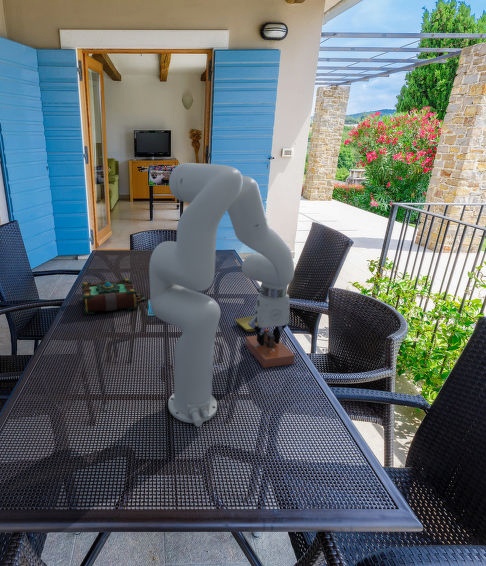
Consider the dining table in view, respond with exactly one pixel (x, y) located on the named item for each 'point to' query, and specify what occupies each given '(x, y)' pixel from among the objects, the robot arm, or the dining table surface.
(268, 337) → the black block red end
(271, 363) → the panel
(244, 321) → the yellow square tray
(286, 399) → the dining table surface
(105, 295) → the book
